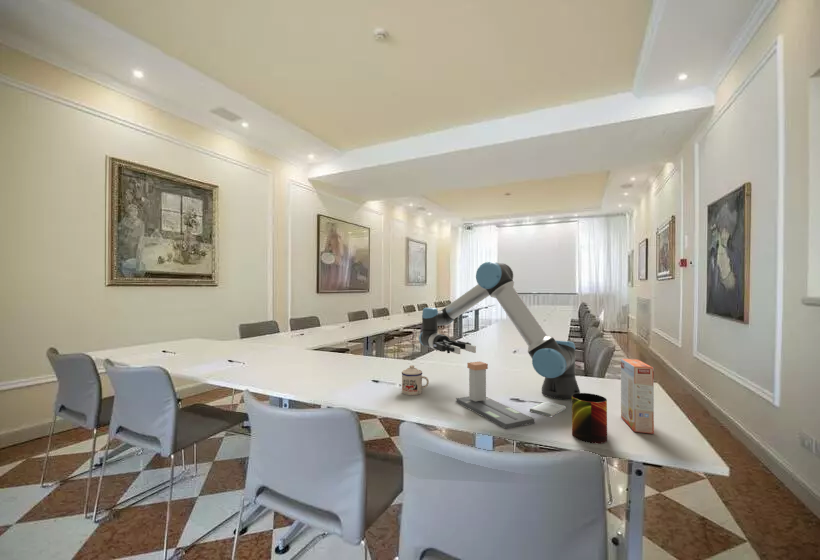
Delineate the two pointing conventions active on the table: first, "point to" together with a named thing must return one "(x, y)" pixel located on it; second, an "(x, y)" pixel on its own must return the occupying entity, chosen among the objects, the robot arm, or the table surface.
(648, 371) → the cracker box
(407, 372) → the teacup with lid
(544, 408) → the external hard drive
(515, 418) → the fader console
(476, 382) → the fader lever
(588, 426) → the mug
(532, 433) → the table surface
